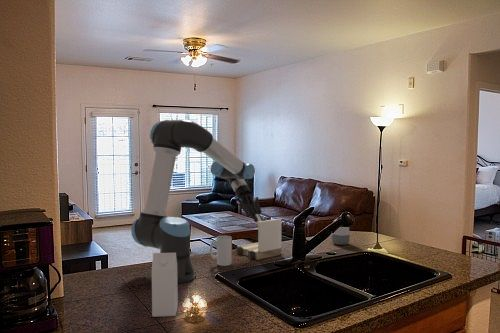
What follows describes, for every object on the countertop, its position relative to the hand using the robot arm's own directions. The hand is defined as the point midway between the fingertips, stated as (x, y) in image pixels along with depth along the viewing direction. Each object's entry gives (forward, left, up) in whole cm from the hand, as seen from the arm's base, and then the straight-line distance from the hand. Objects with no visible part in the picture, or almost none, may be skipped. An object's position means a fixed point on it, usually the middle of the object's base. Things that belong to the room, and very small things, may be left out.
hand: (261, 226), depth 196 cm
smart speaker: (+45, +10, -14) cm, 48 cm away
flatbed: (-1, +1, -13) cm, 13 cm away
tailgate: (+2, -7, -10) cm, 12 cm away
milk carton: (-46, -60, -14) cm, 77 cm away
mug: (-22, -13, -14) cm, 29 cm away
